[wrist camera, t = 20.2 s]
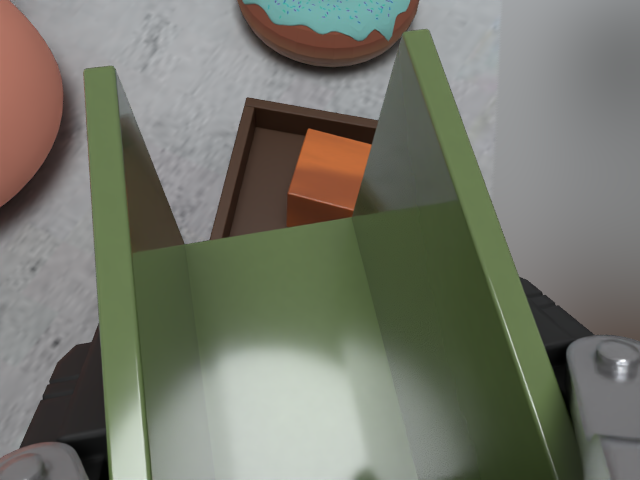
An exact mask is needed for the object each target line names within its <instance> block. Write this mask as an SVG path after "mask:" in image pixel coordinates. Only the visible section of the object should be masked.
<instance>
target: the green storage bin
mask: <svg viewBox="0 0 640 480" xmlns="http://www.w3.org/2000/svg"><path fill="white" fill-rule="evenodd" d="M83 76H84V92H85V108H86V124H87V140H88V156H89V172H90V188H91V204H92V219H93V235H94V251H95V267H96V283H97V299H98V315H99V331H100V347H101V363H102V379H103V395H104V411H105V427H106V443H107V459H108V475H109V480H584V474H583V468H582V463H581V459H580V454H579V449H578V445H577V440H576V436H575V431H574V426H573V424H572V421H571V418H570V415H569V413H568V410H567V407H566V404H565V402H564V399H563V396H562V393H561V391H560V388H559V385H558V382H557V380H556V377H555V374H554V371H553V369H552V366H551V363H550V360H549V358H548V355H547V352H546V349H545V347H544V344H543V341H542V339H541V336H540V333H539V330H538V328H537V325H536V322H535V319H534V317H533V314H532V311H531V308H530V306H529V303H528V300H527V297H526V295H525V292H524V289H523V286H522V284H521V281H520V278H519V276H518V273H517V270H516V267H515V265H514V262H513V259H512V256H511V253H510V251H509V248H508V245H507V243H506V240H505V237H504V234H503V232H502V229H501V226H500V223H499V221H498V218H497V215H496V212H495V210H494V207H493V204H492V201H491V199H490V196H489V193H488V190H487V188H486V185H485V182H484V179H483V177H482V174H481V171H480V168H479V166H478V163H477V160H476V157H475V155H474V152H473V149H472V146H471V144H470V141H469V138H468V135H467V133H466V130H465V127H464V124H463V122H462V119H461V116H460V114H459V111H458V108H457V105H456V103H455V100H454V97H453V94H452V92H451V89H450V86H449V83H448V81H447V78H446V75H445V72H444V70H443V67H442V64H441V61H440V59H439V56H438V53H437V50H436V48H435V45H434V42H433V39H432V37H431V34H430V31H429V30H428V29H421V30H413V31H405V32H403V33H402V37H401V41H400V44H399V48H398V51H397V55H396V59H395V62H394V66H393V70H392V73H391V77H390V80H389V84H388V88H387V91H386V95H385V98H384V102H383V106H382V109H381V113H380V117H379V120H378V124H377V127H376V131H375V135H374V138H373V142H372V146H371V149H370V153H369V156H368V160H367V164H366V167H365V171H364V174H363V178H362V182H361V185H360V189H359V193H358V196H357V200H356V203H355V207H354V211H353V214H352V217H349V218H343V219H337V220H331V221H325V222H319V223H313V224H307V225H300V226H294V227H288V228H282V229H276V230H270V231H264V232H258V233H252V234H245V235H239V236H233V237H227V238H221V239H215V240H209V241H203V242H197V243H190V244H184V241H183V239H182V236H181V234H180V231H179V229H178V226H177V224H176V221H175V218H174V216H173V213H172V211H171V208H170V206H169V203H168V201H167V198H166V196H165V193H164V191H163V188H162V185H161V183H160V180H159V178H158V175H157V173H156V170H155V168H154V165H153V163H152V160H151V158H150V155H149V153H148V150H147V147H146V145H145V142H144V140H143V137H142V135H141V132H140V130H139V127H138V125H137V122H136V120H135V117H134V114H133V112H132V109H131V107H130V104H129V102H128V99H127V97H126V94H125V92H124V89H123V87H122V84H121V82H120V79H119V76H118V74H117V71H116V69H115V68H114V66H104V67H95V68H87V69H84V72H83Z"/></svg>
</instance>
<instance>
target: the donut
mask: <svg viewBox="0 0 640 480" xmlns="http://www.w3.org/2000/svg"><path fill="white" fill-rule="evenodd" d="M237 1H238V4H239V6H240V9H241V11H242V14H243V16H244V18H245V19H246V21H247V23H248V24H249V26H250V27H251V29H252V30H253V32H254V33H255V34H256V35H257V36H258V37H259V38H260V39H261V40H262V41H263V42H264V43H265V44H266V45H267V46H269V47H270V48H272V49H273V50H275V51H276V52H278V53H279V54H281V55H283V56H286V57H288V58H290V59H293V60H295V61H298V62H302V63H306V64H310V65H314V66H325V67H339V66H350V65H354V64H358V63H362V62H366V61H368V60H370V59H372V58H375V57H377V56H379V55H381V54H382V53H384V52H385V51H386V50H388V49H389V48H391V47H392V46H393V45H394V44H395V42H397V41H398V40H399V38H400V37H401V36H402V33H403V32H405V31H407V29H408V27H409V26H410V24H411V22H412V20H413V18H414V16H415V15H416V12H417V8H418V3H419V0H237Z"/></svg>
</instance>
